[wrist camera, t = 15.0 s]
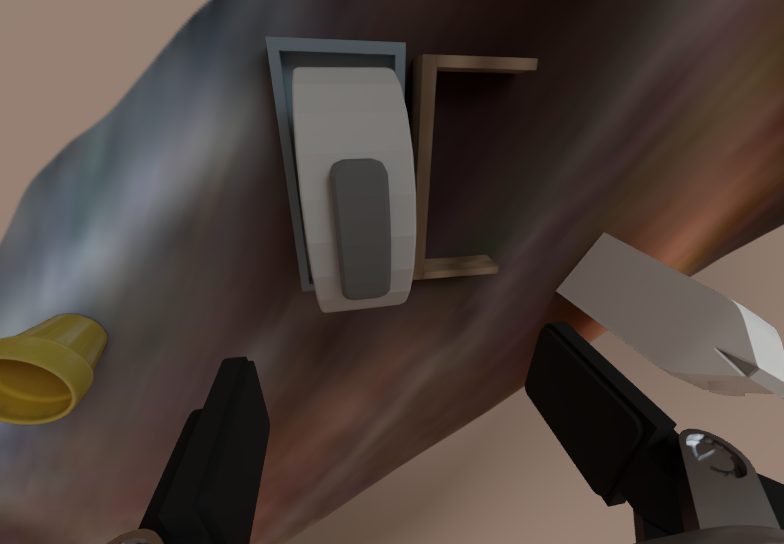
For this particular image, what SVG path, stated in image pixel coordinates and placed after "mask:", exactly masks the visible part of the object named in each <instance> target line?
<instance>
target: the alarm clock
mask: <svg viewBox="0 0 784 544" xmlns="http://www.w3.org/2000/svg"><path fill="white" fill-rule="evenodd" d="M292 107H293V125H294V138H295V151H296V162H297V171H298V180H299V190H300V199H301V206H302V214H303V221H304V228H305V236H306V243H307V249H308V255H309V260H310V266H311V272H312V278H313V282H314V287H315V291H316V296H317V299H318V302H319V305H320V308H321V311H323V312H324V313H329V312H338V311H347V310H356V309H365V308H373V307H382V306H391V305H399V304H402V303H404V302H405V301H406V299H407V297H408V294H409V292H410V289H411V283H412V277H413V271H414V263H415V246H416V188H415V174H414V161H413V149H412V142H411V135H410V128H409V121H408V114H407V109H406V105H405V101H404V97H403V93H402V89H401V85H400V83H399V81H398V79H397V76H396V74H395V72H394V71H393V70H392V69H389V68H386V67H297V68H296V69H294V70H293V80H292Z"/></svg>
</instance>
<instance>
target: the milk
mask: <svg viewBox="0 0 784 544" xmlns="http://www.w3.org/2000/svg"><path fill="white" fill-rule="evenodd" d="M556 291H557V292H558V293H559V294H561V295H562V296H563V297H565V298H566V299H567V300H569V301H570V302H571V303H573V304H574V305H575V306H577V307H578V308H580V309H581V310H582V311H584V312H585V313H586V314H588V315H589V316H590V317H592V318H593V319H594V320H596V321H597V322H598V323H600V324H601V325H602V326H604V327H605V328H606V329H608V330H609V331H610V332H612V333H613V334H614V335H616V336H617V337H619V338H620V339H621V340H623V341H624V342H625V343H626V344H628V345H629V346H631V347H632V348H633V349H634V350H636V351H637V352H639V353H640V354H641V355H643V356H644V357H645V358H647V359H648V360H649V361H651V362H652V363H653V364H655V365H656V366H658V367H659V368H661V369H663V370H664V371H666V372H667V373H669V374H670V375H673V376H675V377H677V378H679V379H681V380H684V381H686V382H688V383H690V384H693V385H695V386H697V387H699V388H702V389H704V390H709V391H710V392H712V393H716V394H722V395H729V396H745V393H764V394H776V395H778V396H780V397H781V398H783V399H784V350H783V346H782V343H781V339H780V337H779V335H778V333H777V331H776V329H775V328H773V327H772V326H771V325H769V324H768V323H766V322H765V321H763V320H762V319H761V318H759V317H758V316H756V315H755V314H754V313H752V312H751V311H749V310H748V309H746V308H745V307H743V306H741V305H740V304H738V303H736V302H735V301H733V300H731V299H729V298H727V297H726V296H724V295H722V294H720V293H718V292H716V291H715V290H713V289H711V288H709V287H707V286H705V285H703V284H701V283H699V282H697V281H696V280H694V279H692V278H690V277H688V276H686V275H684V274H682V273H680V272H678V271H677V270H675V269H673V268H671V267H669V266H667V265H665V264H663V263H661V262H659V261H658V260H656V259H654V258H652V257H650V256H648V255H646V254H644V253H642V252H640V251H639V250H637V249H635V248H633V247H631V246H629V245H627V244H625V243H623V242H621V241H620V240H618V239H616V238H614V237H612V236H610V235H608V234H606V233H603V234H602V235H601V237H600V238H599V239H598V240H597V241H596V243H595V244H594V245H593V246H592V247H591V249H590V250H589V251H588V252H587V254H586V255H585V256H584V257H583V258H582V260H581V261H580V262H579V263H578V265H577V266H576V267H575V268H574V269H573V271H572V272H571V273H570V274H569V275H568V277H567V278H566V279H565V280H564V282H563V283H562V284H561V285H560V286H559V288H558V289H557V290H556Z"/></svg>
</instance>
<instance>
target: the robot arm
mask: <svg viewBox="0 0 784 544" xmlns="http://www.w3.org/2000/svg"><path fill="white" fill-rule="evenodd" d="M525 390H526V393H527V395H528V396H529V398H530V399H531V400H532V402H533V404H534V405H535V406H536V408H537V410H538V411H539V412H540V414H541V415H542V417H543V418H544V420H545V421H546V423H547V424H548V425H549V427H550V429H551V430H552V431H553V433H554V434H555V436H556V437H557V439H558V440H559V442H560V443H561V445H562V446H563V448H564V449H565V451H566V452H567V453H568V455H569V456H570V458H571V459H572V461H573V462H574V464H575V465H576V467H577V468H578V470H579V471H580V472H581V474H582V475H583V477H584V478H585V480H586V481H587V483H588V484H589V486H590V487H591V489H592V490H593V491H594V492H595V493H596V494H598V495H600V496H601V497H602V498H603V500H604V501H605V503H606V504H607V506H613V505H618V504H623V503H625V502H626V500H627V501H628V503H629V504H630V505H631V507H632V508H633V512H634V525H635V536H636V543H635V544H784V484H781V483H779V482H777V481H774V480H772V479H770V478H767V477H765V476H762V475H760V474H758V473H756V471H755V469H754V467H753V466H752V464H751V463H750V461H749V460H748V459H747V458H746V457H745V456H744V455H743V453H742V452H740V451H739V450H738V449H737V448H735V447H734V446H733V445H731V444H730V443H728V442H727V441H725V440H723V439H722V438H720V437H718V436H716V435H714V434H711V433H709V432H706V431H702V430H698V429H686V430H683V431H682V432H681V433H680V434H678V433H676V431H675V430H674V428H675V426H676V425H677V424H676V423H675V422H674V421H673V420H672V419H671V418H669V417H668V416H667V415H666V414H665V413H664V412H663V411H662V410H661V409H660V408H659V407H657V406H656V405H655V404H654V403H653V402H652V401H651V400H650V399H649V398H648V397H647V396H645V395H644V394H643V393H642V392H641V391H640V390H639V389H638V388H637V387H636V386H634V384H633V383H631V382H630V381H629V380H628V379H627V378H626V377H625V376H624V375H623V374H622V373H621V372H619V371H618V370H617V369H616V368H615V367H614V366H613V365H612V364H611V363H609V361H608V360H606V359H605V358H604V357H603V356H602V355H601V354H600V353H599V352H598V351H597V350H596V349H594V348H593V347H592V346H591V345H590V344H589V343H588V342H587V341H586V340H585V339H584V338H583V337H581V336H580V335H579V334H578V333H577V332H576V331H575V330H574V329H573V328H572V327H571V326H569V325H568V324H567V323H566V322H556V323H548V324H546V325H545V326H544V328H542V329H541V331H540V334H539V337H538V340H537V344H536V347H535V351H534V354H533V358H532V361H531V365H530V368H529V371H528V375H527V378H526V382H525ZM269 431H270V422H269V417H268V413H267V409H266V406H265V402H264V398H263V394H262V390H261V386H260V382H259V379H258V375H257V371H256V367H255V364H254V361H248V360H247V358H246V357H236V358H227V359H224V360H223V361H222V363H221V366H220V368H219V371H218V373H217V375H216V378H215V380H214V383H213V385H212V388H211V390H210V392H209V395H208V397H207V400H206V402H205V404H204V407H203V409H197V410H194V411H193V412H192V413H191V414H190V415H189V417H188V419H187V421H186V423H185V426H184V428H183V430H182V432H181V435H180V437H179V439H178V441H177V443H176V446H175V448H174V450H173V452H172V455H171V457H170V459H169V461H168V463H167V466H166V468H165V470H164V472H163V475H162V477H161V479H160V481H159V484H158V486H157V488H156V490H155V492H154V495H153V497H152V499H151V501H150V504H149V506H148V508H147V510H146V513H145V515H144V517H143V519H142V521H141V524H140V526H139V528H138V529H136V530H132V531H129V532H127V533H124V534H122V535H119V536H118V537H116V538H115V539H113V540H112V541H110V542H108V543H107V544H249V542H250V537H251V531H252V526H253V520H254V514H255V509H256V503H257V498H258V492H259V487H260V481H261V476H262V470H263V465H264V459H265V454H266V448H267V443H268V437H269Z"/></svg>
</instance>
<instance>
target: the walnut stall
mask: <svg viewBox="0 0 784 544" xmlns="http://www.w3.org/2000/svg"><path fill="white" fill-rule="evenodd" d="M537 62H538V59H536V58H509V57H483V56H457V55H430V54H422V55H421V56H419V57H417V58H415V59H413V78H412V108H411V142H412V149H413V161H414V174H415V188H416V246H415V263H414V271H413V277H412V280H419V279H431V278H443V277H456V276H468V275H480V274H493V273H498V269H499V266H498V265H497V264H496V263H495V262H494V261H492V260H491V259H490V258H489V257H488V256H487V255H476V256H462V257H448V258H433V259H425V247H426V232H427V216H428V200H429V185H430V169H431V153H432V138H433V122H434V107H435V91H436V75H437V71H449V72H483V73H522V72H528V71H534V70H536V67H537Z"/></svg>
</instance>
